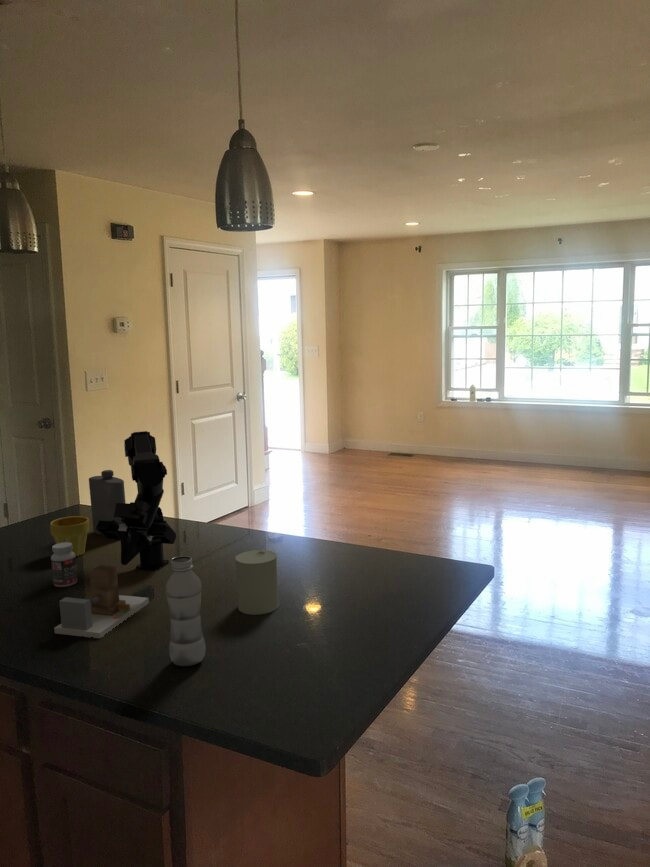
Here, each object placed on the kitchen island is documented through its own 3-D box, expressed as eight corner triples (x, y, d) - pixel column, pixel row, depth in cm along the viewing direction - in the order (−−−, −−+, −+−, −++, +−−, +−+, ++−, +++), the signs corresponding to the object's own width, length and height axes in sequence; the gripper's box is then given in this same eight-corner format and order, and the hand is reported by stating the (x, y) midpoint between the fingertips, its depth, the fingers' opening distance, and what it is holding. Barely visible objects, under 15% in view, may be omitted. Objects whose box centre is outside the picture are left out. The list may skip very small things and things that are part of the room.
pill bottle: (69, 588, 166) (65, 549, 164) (48, 587, 167) (44, 548, 165) (82, 579, 171) (78, 541, 170) (62, 578, 172) (58, 541, 171)
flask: (133, 536, 207) (128, 472, 204) (117, 541, 203) (111, 475, 200) (107, 528, 217) (101, 466, 214) (90, 532, 212) (84, 470, 209)
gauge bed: (107, 598, 158) (104, 570, 157) (149, 602, 155) (146, 573, 154) (54, 633, 141) (51, 601, 140) (100, 638, 137) (97, 605, 136)
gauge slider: (100, 603, 152) (97, 563, 150) (135, 606, 149) (132, 566, 148) (81, 615, 145) (77, 574, 144) (117, 619, 143) (113, 577, 141)
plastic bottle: (172, 655, 129) (164, 554, 126) (208, 652, 130) (201, 552, 127) (167, 672, 123) (159, 566, 120) (205, 669, 123) (198, 564, 120)
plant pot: (99, 551, 193) (96, 518, 192) (68, 562, 185) (65, 527, 183) (76, 546, 199) (73, 514, 197) (45, 557, 190) (41, 523, 189)
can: (285, 600, 154) (283, 549, 152) (269, 616, 145) (266, 563, 143) (248, 596, 157) (245, 546, 155) (230, 612, 148) (227, 559, 146)
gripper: (96, 486, 160) (70, 545, 151) (166, 489, 154) (143, 551, 146) (118, 509, 169) (95, 567, 160) (185, 513, 163) (165, 573, 154)
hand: (123, 564), depth 155 cm, fingers closed
